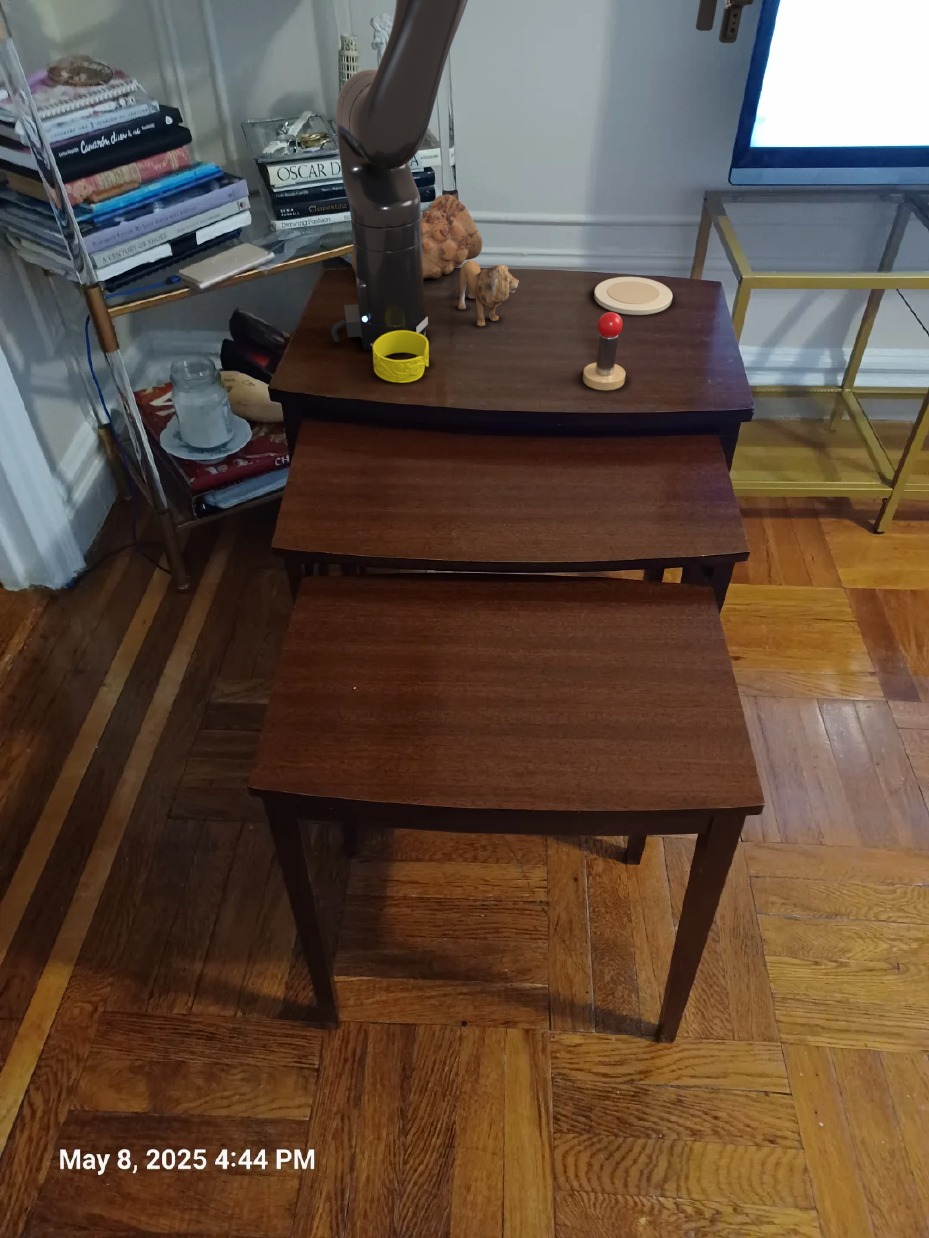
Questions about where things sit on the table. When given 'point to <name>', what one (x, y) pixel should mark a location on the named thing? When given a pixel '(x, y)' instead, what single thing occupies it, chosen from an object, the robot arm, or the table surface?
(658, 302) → the plate
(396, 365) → the bracelet
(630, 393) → the table surface
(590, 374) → the red ball post
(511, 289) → the lion figurine
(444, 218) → the brown bumpy lump
